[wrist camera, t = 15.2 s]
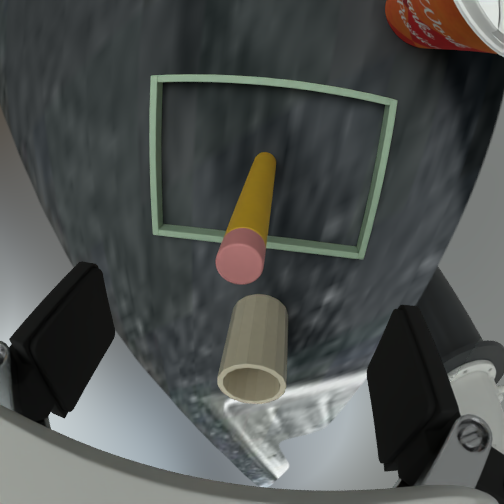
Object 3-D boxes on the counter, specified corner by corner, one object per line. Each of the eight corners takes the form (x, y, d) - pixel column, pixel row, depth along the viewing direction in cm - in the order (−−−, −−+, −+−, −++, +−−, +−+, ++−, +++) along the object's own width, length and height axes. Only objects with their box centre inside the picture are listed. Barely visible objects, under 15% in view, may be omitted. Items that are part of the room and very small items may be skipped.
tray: (390, 98, 22) (397, 100, 20) (359, 249, 29) (363, 259, 28) (159, 75, 23) (150, 75, 21) (160, 225, 30) (152, 234, 28)
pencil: (277, 153, 25) (265, 246, 11) (275, 173, 26) (261, 288, 12) (255, 150, 25) (215, 241, 11) (253, 171, 26) (214, 282, 12)
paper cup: (357, -17, 17) (427, -85, 5) (434, -22, 15) (533, -60, 3) (388, 66, 21) (488, 68, 9) (461, 57, 19) (576, 69, 7)
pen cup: (291, 293, 33) (291, 368, 24) (283, 333, 35) (280, 406, 27) (235, 286, 33) (217, 359, 24) (232, 327, 36) (217, 399, 27)
